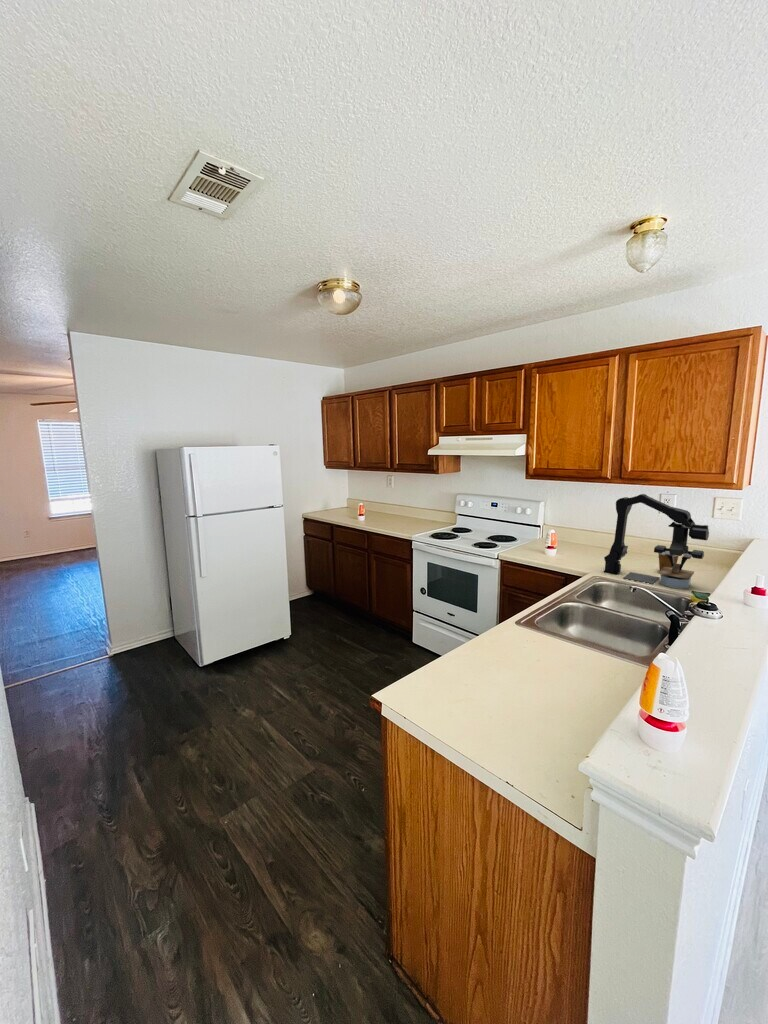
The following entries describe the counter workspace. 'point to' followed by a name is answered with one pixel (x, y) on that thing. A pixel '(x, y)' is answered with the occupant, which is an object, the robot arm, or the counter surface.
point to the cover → (676, 572)
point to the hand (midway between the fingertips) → (676, 569)
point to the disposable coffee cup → (666, 560)
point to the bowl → (675, 581)
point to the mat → (641, 578)
